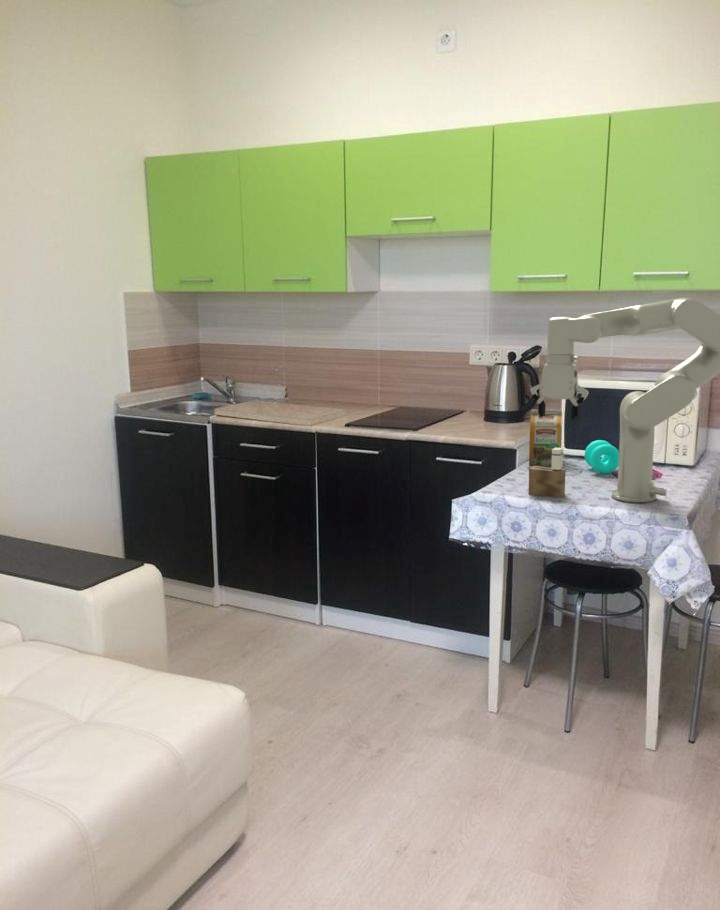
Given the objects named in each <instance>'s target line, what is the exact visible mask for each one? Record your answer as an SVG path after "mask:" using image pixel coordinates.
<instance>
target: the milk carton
mask: <svg viewBox="0 0 720 910" xmlns="http://www.w3.org/2000/svg"><path fill="white" fill-rule="evenodd" d="M529 422H530V423H529V453H528V454H529V455H528V456H529V458H528V466H530V467H533V466H540V467H551V464H552V449H554V448H555V447H556V448H562V440H563V439H562V438H563V437H562V433H563V427H562V426H563V410H562V409H545V416H543V417H539V414H538V409H531V411H530V421H529Z"/></svg>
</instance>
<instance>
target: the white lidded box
mask: <svg viewBox="0 0 720 910" xmlns="http://www.w3.org/2000/svg"><path fill="white" fill-rule="evenodd" d="M563 461H564V448H563V447H561V448H556V447H555V448H554V449H552V464H551V466H550V468H551V469H556V470H560V469H564V468H563V466H564V465H563V464H564V463H563Z"/></svg>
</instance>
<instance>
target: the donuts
mask: <svg viewBox="0 0 720 910" xmlns="http://www.w3.org/2000/svg"><path fill="white" fill-rule="evenodd" d="M601 457H602V458H601ZM584 460H585V462H586V464H587V465H588V466H590V467H591V468H592V469H593V470H594V471H595V472H596V473H598V474H602V475H608V474H611V473H613V472H615V471H616V470H617V469H618V464H619V449H617V448H616V447H615V446H613V445H612V444H611V443H610V442H608V441H607V440H603V439H598V440H597V439H596V440H594V441H591V442H590V443H589V444H588V445H587V446H586V448H585V451H584Z"/></svg>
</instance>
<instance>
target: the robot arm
mask: <svg viewBox="0 0 720 910" xmlns="http://www.w3.org/2000/svg"><path fill="white" fill-rule="evenodd" d="M674 330H682V331H684V332H686V333H687V334H688V335H690V336H691V337H693V338H694V339H696V340H698V341H700V344H699V347H698V348H697V350H696V351H695V352H694V353H693V354H692V355H690V356H689V357H688V358H687V359H685V360H684V361H682V362H681V363H678V364H677V365H675V366H674V367H673V368H671V369H670V370H667V371H666V372H664V373H662V374H661V375H659V376H658V378H657V379H656V381H655V383H654V387H652V388H651V389H649V390H648V391H646V392H645V391H642V390H641V391H640V390H639V391H638V390H636V391H632V392H629V393H628V394H626V395H625V396H624V398H623V399H622V401H621V403H620V406H619V445H618V451H619V464H618V467H617V469H618V471H617V489H613V491H611V497H612V498H613V499H614V500H618V501H621V502H627V503H636V504H637V503H639V504H640V503H642V504H643V503H649V502H654V501H655V500H657V495H659V496H664V497H667V492H668V491H667V489H666V488H665V487H658V486H656V485H655V481H653V465H654V464H653V463H654V446H655V427H657V426H658V425H660V424H661V423H663V422H665V421H666V420H668V419H669V418H671V417H673V416H674V415H676V414H679V412H681V411H682V410H684V409H685V408H687V407H688V406H690V404H691V403H692V402H693V400H694V399H695V397H696V394H697V390H698V389H699V388H700V387H702V386H703V385H705V384H706V383H708V382H709V381H710V380H712V379H713V378H714V377H716V376H717V375H718V374H719V373H720V313H718V312H716V311H715V310H713V309H711V308H710V307H709V306H707V305H705V304H704V303H703V302H702V301H700V300H697V299H695V298H690V297H678V298H671V299H668V300H661V301H656V302H651V303H650V302H649V303H645V304H638V305H632V306H628V307H624V308H623V307H622V308H618V309H613V310H607V311H600V312H595V313H589V314H584V315H581V316H579V317H576V318H574V317H573V318H572V317H570V316H555V317H554V316H553V317H550V318H549V320H548V321H547V338H546V339H547V341H546V342H547V343H546V344H547V345H546V363H545V364H544V366H543V370H542V373H541V374H542V375H541V383H539V384H536V385H534V386H532V387H530V388H529V390H530V393H531V395H532V398H533V399H534V400H535V401H536V404H538V405H537V410H538V414H539V417H543V416H545V410H546V403H545V401H546V400H547V399H552V400H553V399H556V400H569V401H570V402H571V404H572V406H571V417H570V418H571V420H576V419H577V418H578V417H579V414H580V413H579V411H580V408H579V407H580V405H581V404H582V403H583V402H584V401H585V400H586V398H587V397H588V395H589V390H588V389H586V388H584V387H582V386H580V385H579V381H578V380H579V378H578V377H579V376H578V367H577V365H576V364H574V362H578V361H579V357H578V356H575V353H574V349H575V348H574V347H575V342H576V343H583V344H592V343H596V342H597V341H599V339H601V338H606V337H608V338H609V337H615V336H633V337H634V336H645V335H650V334H651V335H652V334H657V333H662V332H663V333H664V332H667V331H668V332H669V331H674ZM539 389H540V395H539V393H538V392H537V391H538V390H539ZM579 393H581V396H580V397H579V398H578V396H579Z"/></svg>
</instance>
